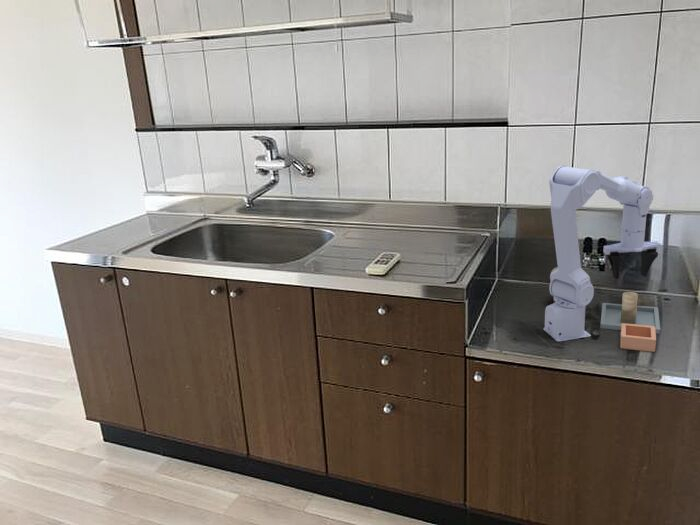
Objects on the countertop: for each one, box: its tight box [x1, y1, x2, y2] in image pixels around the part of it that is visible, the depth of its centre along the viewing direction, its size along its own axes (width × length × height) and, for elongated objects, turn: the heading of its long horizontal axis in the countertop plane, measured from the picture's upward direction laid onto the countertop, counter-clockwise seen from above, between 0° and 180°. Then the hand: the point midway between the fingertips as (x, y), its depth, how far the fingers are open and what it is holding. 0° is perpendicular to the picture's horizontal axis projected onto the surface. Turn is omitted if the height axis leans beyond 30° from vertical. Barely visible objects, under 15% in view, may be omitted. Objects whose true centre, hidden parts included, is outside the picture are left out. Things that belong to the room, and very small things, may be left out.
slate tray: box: [599, 302, 661, 335], centre depth 159 cm, size 14×14×2 cm
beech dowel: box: [621, 291, 639, 324], centre depth 157 cm, size 4×4×8 cm
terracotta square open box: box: [619, 323, 657, 353], centre depth 147 cm, size 8×8×4 cm
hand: (629, 276), depth 163 cm, fingers open, 7 cm apart
